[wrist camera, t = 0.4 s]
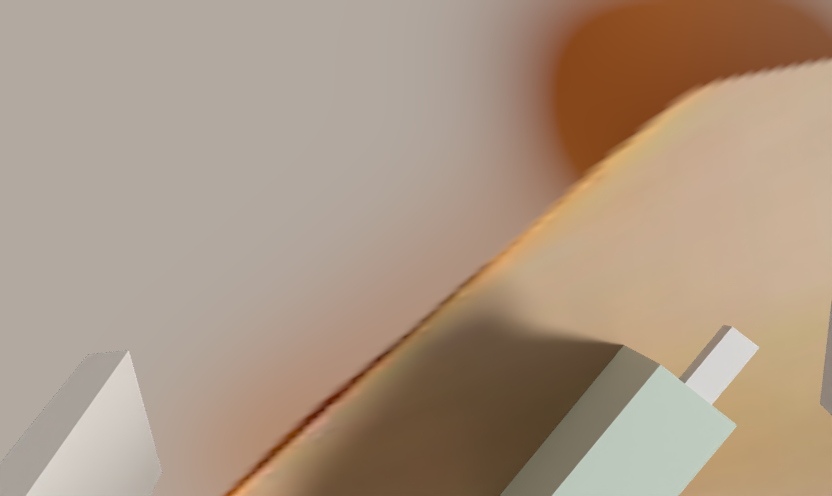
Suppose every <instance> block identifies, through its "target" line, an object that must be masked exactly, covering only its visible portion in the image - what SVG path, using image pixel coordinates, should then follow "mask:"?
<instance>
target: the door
mask: <svg viewBox="0 0 832 496" xmlns="http://www.w3.org/2000/svg"><path fill="white" fill-rule="evenodd" d="M759 348H760V347H758V346H757V345H756V344H754V343H753V342H752V341H750V340H749V339H748V338H746V337H745V336H744V335H743V334H741V333H740V332H739V331H737V330H736V329H735V328H733V327H732V326H726V325H723V326H722V328H721V329H720V330H719V331H718V332H717V334H716V335H715V336H714V337H713V338H712V340H711V341H710V342H709V343H708V344H707V346H706V347H705V348H704V349H703V350H702V352H701V353H700V354H699V355H698V356H697V358H696V359H695V360H694V361H693V362H692V364H691V365H690V366H689V367H688V368H687V370H686V371H685V372H684V373H683V375H682V376H681V377H680V378H679V379H678V378H677V377H676V376H674V375H673V374H672V373H671V372H669V371H668V370H667V369H666V368H664V367H663V366H662V365H660V364H659V363H657V362H655V361H653V360H651V359H649V358H647V357H645V356H643V355H642V354H640V353H638V352H636V351H634V350H632V349H630V348H628V347H627V346H625V345H623V347H622V348H621V349H620V350H619V352H618V353H617V354H616V355H615V356H614V358H613V359H612V360H611V361H610V362H609V364H608V365H607V366H606V367H605V369H604V370H603V371H602V372H601V373H600V375H599V376H598V377H597V378H596V379H595V381H594V382H593V383H592V384H591V385H590V387H589V388H588V389H587V390H586V392H585V393H584V394H583V395H582V396H581V398H580V399H579V400H578V401H577V402H576V404H575V405H574V406H573V407H572V409H571V410H570V411H569V412H568V413H567V415H566V416H565V417H564V418H563V419H562V421H561V422H560V423H559V424H558V426H557V427H556V428H555V429H554V430H553V432H552V433H551V434H550V435H549V436H548V438H547V439H546V440H545V441H544V442H543V444H542V445H541V446H540V447H539V449H538V450H537V451H536V452H535V453H534V455H533V456H532V457H531V458H530V459H529V461H528V462H527V463H526V464H525V466H524V467H523V468H522V469H521V470H520V472H519V473H518V474H517V475H516V476H515V478H514V479H513V480H512V481H511V482H510V484H509V485H508V486H507V487H506V489H505V490H504V491H503V492H502V493H501V495H500V496H679V494H680V493H681V492H682V491H683V490H684V488H685V487H686V486H687V485H688V484H689V482H690V481H691V480H692V479H693V478H694V476H695V475H696V474H697V473H698V472H699V471H700V469H701V468H702V467H703V466H704V465H705V463H706V462H707V461H708V460H709V459H710V457H711V456H712V455H713V454H714V453H715V451H716V450H717V449H718V448H719V447H720V446H721V444H722V443H723V442H724V441H725V440H726V438H727V437H728V436H729V435H730V434H731V432H732V431H733V430H734V429H735V428H736V426H737V425H736V424H735V423H734V422H732V421H731V420H730V419H729V418H727V417H726V416H725V415H724V414H722V413H721V412H720V411H719V410H717V409H716V408H715V407H714V406H712V404H713V403H714V401H715V400H716V399H717V398H718V397H719V395H720V394H721V393H722V392H723V391H724V389H725V388H726V387H727V386H728V385H729V383H730V382H731V381H732V380H733V379H734V377H735V376H736V375H737V374H738V373H739V372H740V370H741V369H742V368H743V367H744V366H745V364H746V363H747V362H748V361H749V360H750V358H751V357H752V356H753V355H754V354H755V352H756V351H757V350H758V349H759Z"/></svg>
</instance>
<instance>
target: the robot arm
mask: <svg viewBox="0 0 832 496" xmlns="http://www.w3.org/2000/svg"><path fill="white" fill-rule="evenodd" d="M820 404H821V405H822V406H823V407H824V408H825V409H826V410H827V411H828V412H829V413H830V414H831V415H832V302H831V311H830V320H829V329H828V338H827V346H826V355H825V364H824V373H823V382H822V391H821V400H820ZM161 473H162V469H161V466H160V462H159V459H158V455H157V452H156V448H155V444H154V441H153V437H152V433H151V429H150V426H149V422H148V419H147V415H146V411H145V408H144V405H143V400H142V397H141V393H140V389H139V386H138V382H137V379H136V375H135V371H134V368H133V364H132V360H131V357H130V353H129V350H125V351H116V352H106V353H97V354H88V355H87V356H86V357H85V359H84V360H83V361H82V362H81V364H80V365H79V366H78V367H77V369H76V370H75V371H74V372H73V374H72V375H71V376H70V377H69V379H68V380H67V381H66V382H65V383H64V385H63V386H62V387H61V389H60V390H59V391H58V392H57V393H56V395H55V396H54V397H53V398H52V400H51V401H50V402H49V403H48V405H47V406H46V407H45V408H44V409H43V411H42V412H41V413H40V415H39V416H38V417H37V418H36V419H35V421H34V422H33V423H32V424H31V426H30V427H29V428H28V429H27V431H26V432H25V433H24V434H23V435H22V437H21V438H20V439H19V440H18V442H17V443H16V444H15V445H14V447H13V448H12V449H11V450H10V452H9V453H8V454H7V455H6V457H5V458H4V459H3V460H2V462H1V463H0V496H151V495H152V492H153V490H154V488H155V486H156V484H157V482H158V480H159V478H160V475H161Z"/></svg>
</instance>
